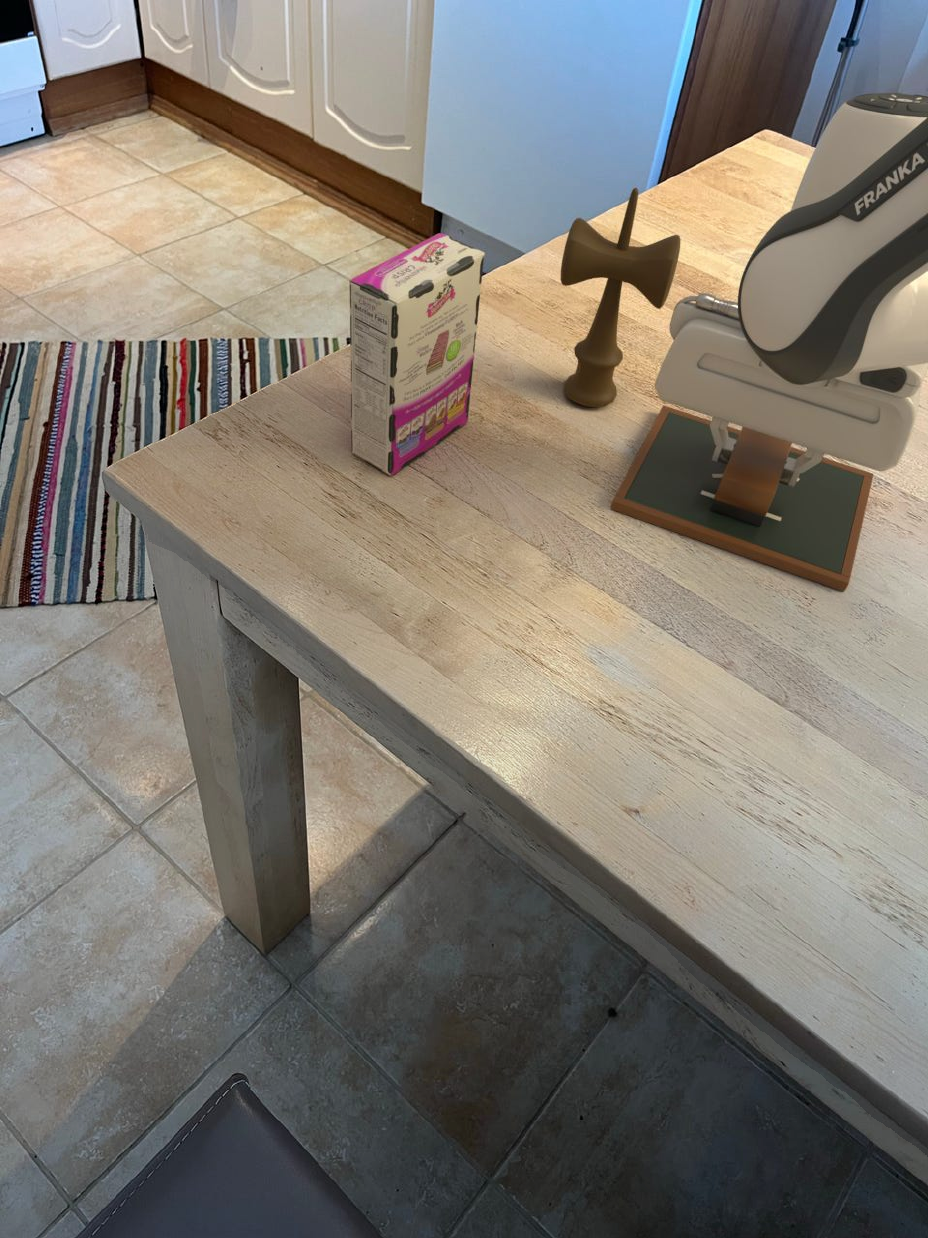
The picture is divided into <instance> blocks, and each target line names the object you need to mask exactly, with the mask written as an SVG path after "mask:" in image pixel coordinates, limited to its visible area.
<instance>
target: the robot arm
mask: <svg viewBox="0 0 928 1238" xmlns="http://www.w3.org/2000/svg"><path fill="white" fill-rule="evenodd" d="M668 327H669V328H668V329H669V333H670V337H671V338H672V340H673V341H672V343H671V345H670V347H669V348H668V350H667V352H666V355H665V357H664V359H663V361H662V363H661V366H660V368H659V371H658V374H657V376H656V379H655V383H654V389H655V392H656V394H657V396H658V398H659V400H661V401H662V402H666V403H668V404H672V405H674V406H678V407H680V408H684V409H687V410H690V411H693V412H696V413H700V414H701V415H705V416H708V417H712V418H711V420H710V421H711V424H710V429H711V432H712V435H713V439H714V442H715V445H717V446H716V449H715V451H714V454H713V457H712V460H713V461H716V462H718V463H721V464H725V465H727V464H728V461H729V459H730V456H731V454H732V452H733V449H734V447H735V444H736V442H737V440H736V439H733V438H730V437H729V436H728V431H727V426H728V427H729V424H732V425H736V426H739V427H741V428H742V427H745V428H748V429H751V430H754V431H757V432H760V433H763V434H766V435H769V436H773V437H776V438H779V439H782V440H785V441H788V442H791V443H792V444H795V445H797V446H801V447H802V448H803V447H804V448H806V449H805V453H804V454H803V455H801V456H800V457H798V458H797V459H794V458H790V457H787V460H786V463H785V466H784V469H783V472H782V475H781V478H780V481H779V483H782V484H784V485H787V486H790V487H794V486H795V483H796V481H797V479H798V477H799V475H800V473H801V474H802V473H803V472H805V471H807V470H808V469H810V468H812V467H813V466H815V465H817V464H818V463H820V462H821V460H822V458H823V457H824V455H827V456H828V455H829V456H830V457H834V458H838V459H840V460H842V461H843V460H844V461H845V462H849V463H852V464H854V465H855V464H856V465H859V466H862V467H865V468H867V469H871V470H874V471H877V472H881V473H883V472H886V471H888V470H891V469H892V468H895V467H897V466H898V465H899V463H900V462H901V460H902V458H903V456H904V454H905V452H906V449H907V447H908V445H909V442H910V440H911V437H912V433H913V431H914V427H915V424H916V420H917V416H918V411H919V407H920V400H921V393H922V385H923V383H924V380H925V378H926V376H927V373H928V96H927V95H921V94H916V93H915V94H908V93H902V92H878V93H875V92H874V93H864V94H860V95H856V96H854V97H853V98H851V99H849V100H846V101H845V102H843V104H842V105H841V106H840V107H839V108H838V109H837V110H836V112H835V113H834V114H833V116H832V117H831V119H830V121H829V122H828V123H827V125H826V127H825V128H824V130H823V132H822V134H821V136H820V137H819V140H818V142H817V144H816V146H815V148H814V150H813V153H812V155H811V156H810V159H809V162H808V164H807V165H806V169H805V170H804V173H803V176H802V178H801V180H800V184H799V185H798V189H797V191H796V194H795V197H794V200H793V203H792V206H791V208H790V211H788V212H786V213H784V214H783V215H782V216H781V217H779V218H778V219H777V220H776V222H775V223H773V225H772V226H771V227H770V228H769V229H768V230H767V231H766V232H765V234H764V235H763V237H762V238H761V239H760V241H758V244H757V245H756V247H755V249H754V250H753V252H752V254H751V256H750V257H749V259H748V261H747V263H746V265H745V268H744V270H743V273H742V275H741V278H740V282H739V287H738V293H737V301H731V300H727V299H721V298H719V297H717V296H716V295H713V294H710V293H705V292H699V293H698V294H697V295H689V296H686V297H684V298H682V299H680V300H679V301H678V302H677V303H676V304H675V306H674V308H673V311H672V315H671V317H670V322H669V326H668Z"/></svg>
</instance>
